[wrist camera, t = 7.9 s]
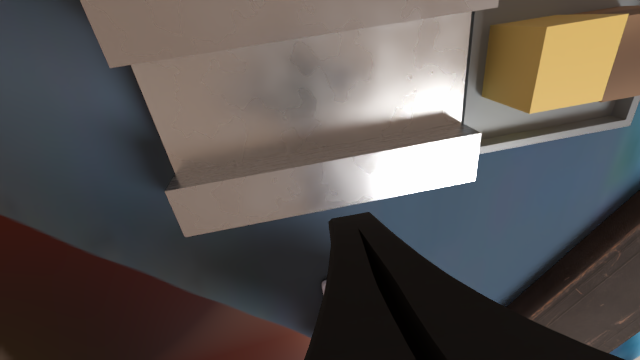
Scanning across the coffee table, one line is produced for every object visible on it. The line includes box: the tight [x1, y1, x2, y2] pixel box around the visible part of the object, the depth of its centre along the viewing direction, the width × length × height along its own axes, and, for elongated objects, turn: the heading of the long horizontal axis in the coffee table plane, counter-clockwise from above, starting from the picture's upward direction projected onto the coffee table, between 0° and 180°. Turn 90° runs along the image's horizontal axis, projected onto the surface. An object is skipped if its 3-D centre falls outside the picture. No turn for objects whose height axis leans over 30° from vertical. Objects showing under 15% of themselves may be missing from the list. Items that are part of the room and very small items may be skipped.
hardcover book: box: [506, 190, 640, 353], centre depth 31 cm, size 16×23×2 cm
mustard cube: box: [482, 14, 629, 114], centre depth 16 cm, size 4×4×4 cm
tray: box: [461, 0, 640, 154], centre depth 18 cm, size 11×12×1 cm
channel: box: [80, 0, 499, 237], centre depth 16 cm, size 12×17×4 cm
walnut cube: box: [569, 5, 640, 102], centre depth 17 cm, size 4×4×4 cm
